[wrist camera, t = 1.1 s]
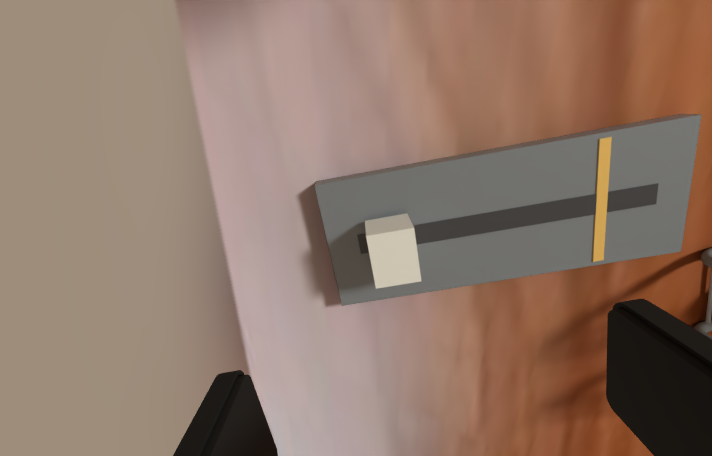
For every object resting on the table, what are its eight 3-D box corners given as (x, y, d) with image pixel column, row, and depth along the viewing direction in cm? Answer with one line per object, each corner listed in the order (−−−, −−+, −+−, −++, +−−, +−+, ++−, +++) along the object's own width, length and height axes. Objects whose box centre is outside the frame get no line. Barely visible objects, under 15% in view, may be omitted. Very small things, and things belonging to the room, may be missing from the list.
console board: (316, 181, 33) (314, 186, 31) (680, 114, 31) (702, 114, 29) (342, 295, 37) (342, 306, 35) (663, 243, 35) (681, 251, 33)
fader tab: (364, 220, 32) (365, 236, 28) (407, 212, 31) (414, 227, 27) (373, 267, 33) (375, 288, 29) (413, 260, 33) (421, 281, 29)
